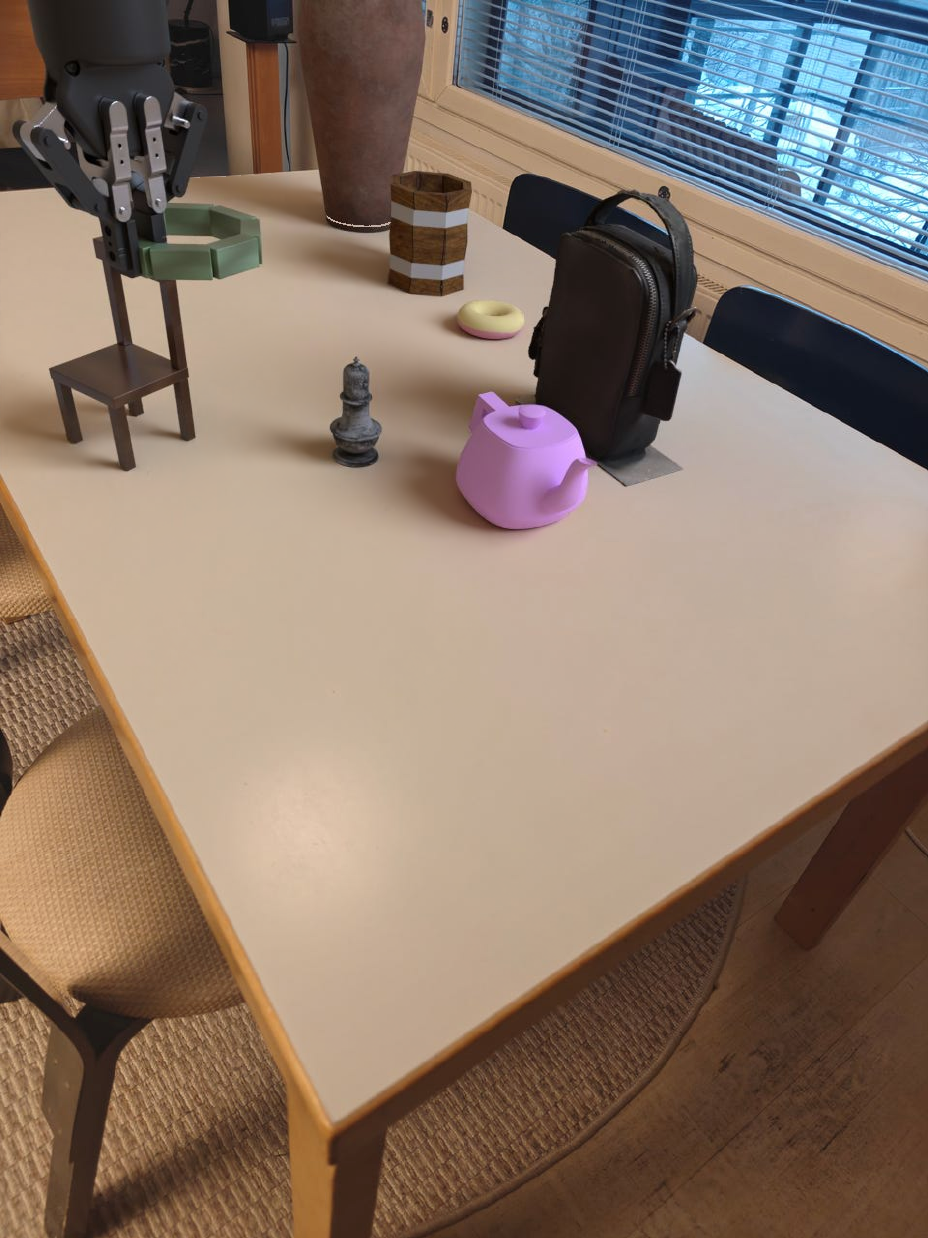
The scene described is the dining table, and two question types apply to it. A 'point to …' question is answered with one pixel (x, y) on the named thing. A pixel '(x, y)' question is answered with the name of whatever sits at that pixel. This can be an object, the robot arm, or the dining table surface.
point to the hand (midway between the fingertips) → (140, 270)
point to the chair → (126, 369)
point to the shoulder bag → (616, 336)
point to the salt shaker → (355, 420)
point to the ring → (203, 260)
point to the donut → (490, 319)
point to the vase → (361, 100)
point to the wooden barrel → (428, 232)
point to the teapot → (522, 464)
